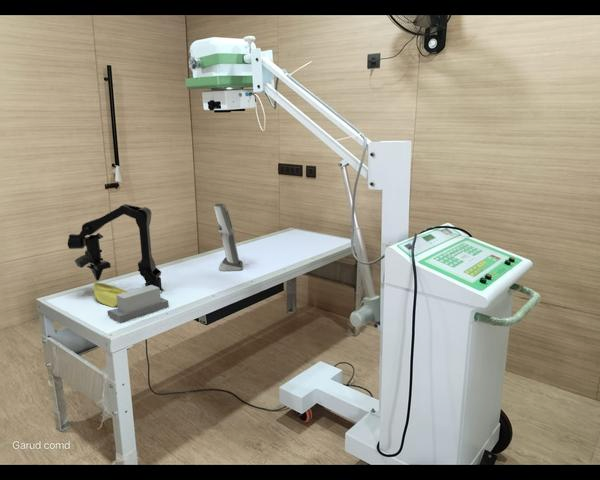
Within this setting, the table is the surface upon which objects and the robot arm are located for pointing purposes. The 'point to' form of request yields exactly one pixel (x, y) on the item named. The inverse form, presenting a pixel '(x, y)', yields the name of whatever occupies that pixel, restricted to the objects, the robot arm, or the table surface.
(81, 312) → the table surface
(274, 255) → the table surface
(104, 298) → the yellow long curved piece
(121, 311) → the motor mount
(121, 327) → the table surface
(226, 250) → the grey tall upright piece
